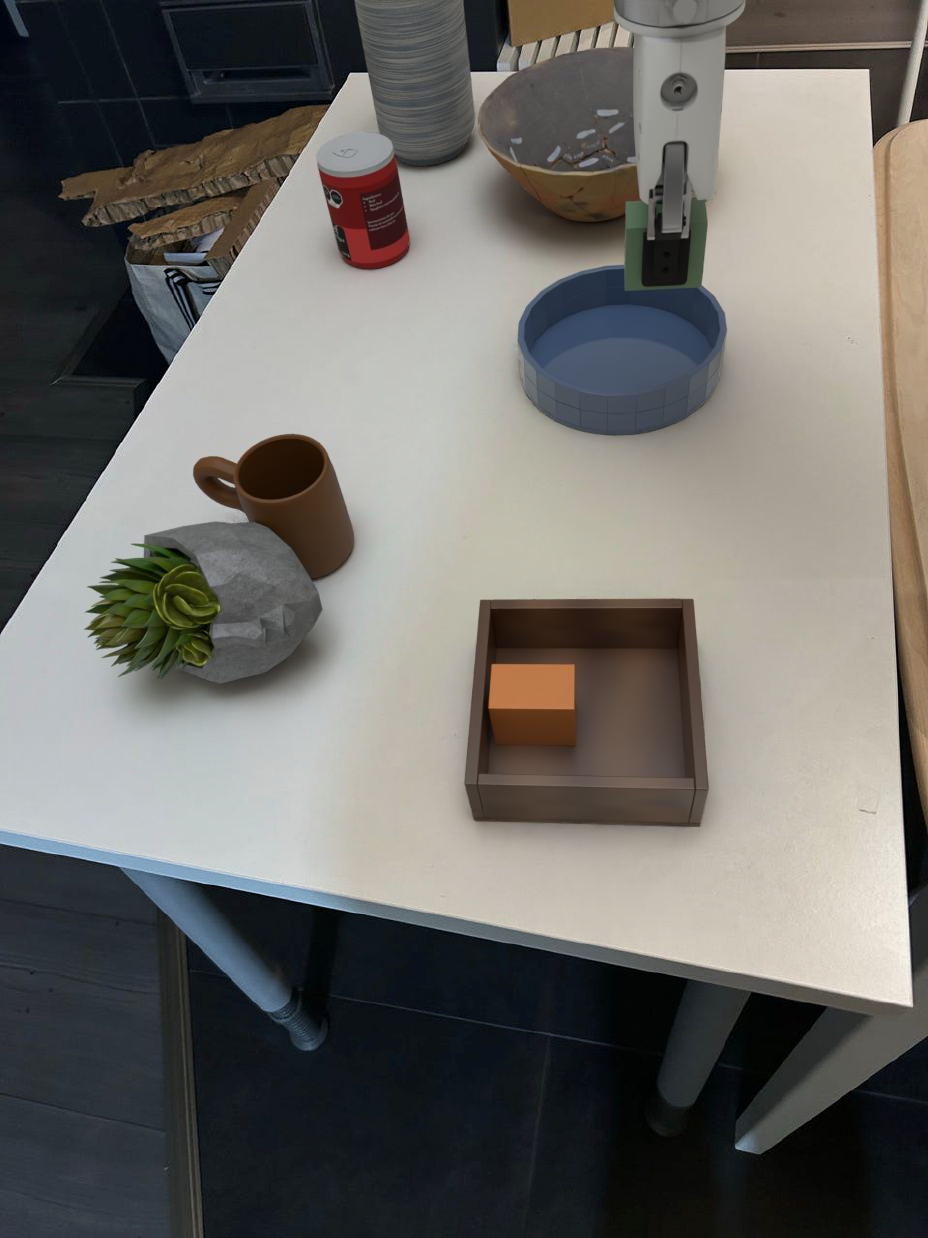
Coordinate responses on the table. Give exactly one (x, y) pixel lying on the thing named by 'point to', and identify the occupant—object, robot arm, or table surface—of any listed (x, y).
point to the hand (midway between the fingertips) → (663, 264)
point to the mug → (286, 497)
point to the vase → (419, 76)
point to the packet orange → (533, 704)
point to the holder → (595, 715)
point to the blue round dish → (619, 352)
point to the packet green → (634, 244)
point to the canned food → (364, 199)
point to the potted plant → (207, 602)
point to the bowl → (568, 132)
